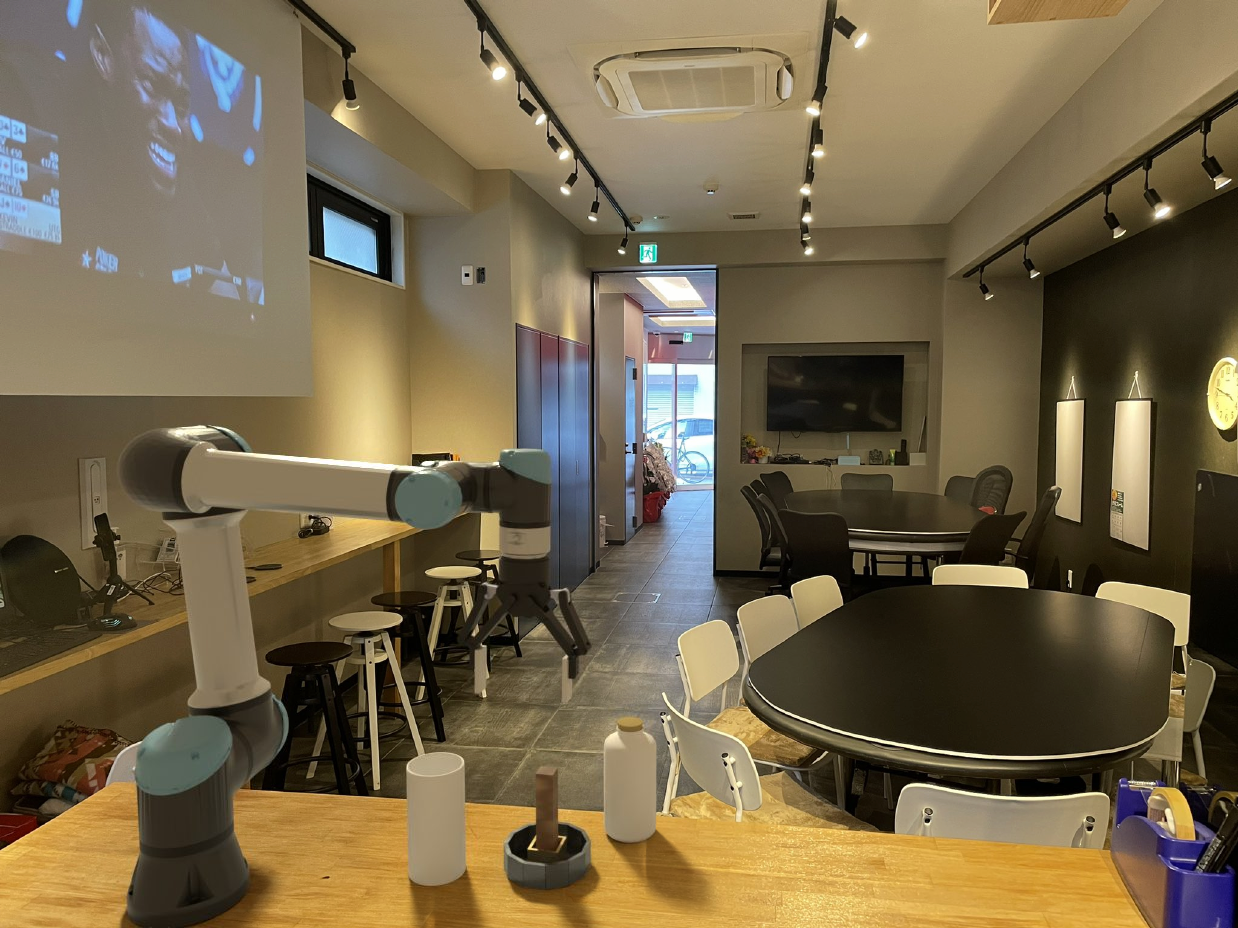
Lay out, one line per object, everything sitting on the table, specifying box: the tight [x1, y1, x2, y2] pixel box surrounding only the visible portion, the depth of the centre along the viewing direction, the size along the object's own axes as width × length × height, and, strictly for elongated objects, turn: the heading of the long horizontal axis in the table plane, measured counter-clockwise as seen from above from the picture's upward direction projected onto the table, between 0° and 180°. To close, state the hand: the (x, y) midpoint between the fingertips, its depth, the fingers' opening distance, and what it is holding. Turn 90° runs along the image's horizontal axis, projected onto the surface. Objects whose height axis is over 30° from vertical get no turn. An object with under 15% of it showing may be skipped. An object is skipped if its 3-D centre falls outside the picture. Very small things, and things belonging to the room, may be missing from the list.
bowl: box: [503, 821, 592, 891], centre depth 125 cm, size 12×12×4 cm
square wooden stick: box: [535, 765, 559, 851], centre depth 124 cm, size 3×3×14 cm
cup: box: [405, 751, 467, 887], centre depth 123 cm, size 8×8×16 cm
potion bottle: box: [603, 716, 657, 844], centre depth 134 cm, size 8×8×18 cm
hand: (523, 694), depth 126 cm, fingers open, 13 cm apart
